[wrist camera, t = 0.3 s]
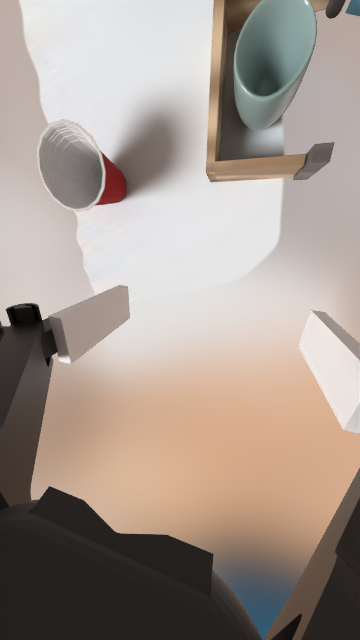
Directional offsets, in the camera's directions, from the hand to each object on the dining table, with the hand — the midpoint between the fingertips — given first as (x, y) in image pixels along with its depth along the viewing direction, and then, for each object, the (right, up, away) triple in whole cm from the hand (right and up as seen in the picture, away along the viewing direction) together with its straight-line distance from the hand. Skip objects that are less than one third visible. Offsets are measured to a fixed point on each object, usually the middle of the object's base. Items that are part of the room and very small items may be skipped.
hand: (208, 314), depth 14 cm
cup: (+10, +32, +15) cm, 36 cm away
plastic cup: (-15, +26, +24) cm, 39 cm away
